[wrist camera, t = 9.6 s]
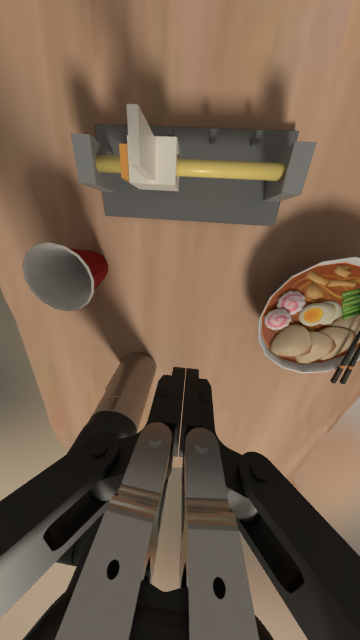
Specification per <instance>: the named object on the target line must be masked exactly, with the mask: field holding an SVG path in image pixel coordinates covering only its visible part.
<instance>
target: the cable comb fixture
mask: <svg viewBox="0 0 360 640" xmlns="http://www.w3.org/2000/svg"><path fill="white" fill-rule="evenodd" d="M149 127H150V129H151V131H152V133H153V135H154V136H165V137H177V139H178V143H179V147H180V151H181V154H180V159H177V173H176V176H179V191H162V190H143V189H139V188H137V187H135V186H134V185H132V184H131V183H130V182H129V164H128V147H127V135H128V125H101V124H95V132H96V139H95V138H94V137H92V136H91V135H90V134H72V133H71V137H72V143H73V150H74V156H75V162H76V168H77V174H78V181H79V183H80V184H83V185H86V186H88V187H91V188H94V189H97V190H99V191H102V193H103V201H104V210H105V215H106V216H120V217H136V218H152V219H167V220H183V221H199V222H215V223H231V224H247V225H263V226H274V224H275V221H276V217H277V213H278V209H279V205H280V202H281V201H283V200H286V199H289V198H292V197H295V196H298V195H301V192H302V189H303V186H304V182H305V179H306V176H307V173H308V169H309V166H310V163H311V159H312V156H313V153H314V149H315V146H316V143H317V142H298V141H297V137H298V133H299V131H288V130H257V129H226V128H195V127H163V126H149Z"/></svg>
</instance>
